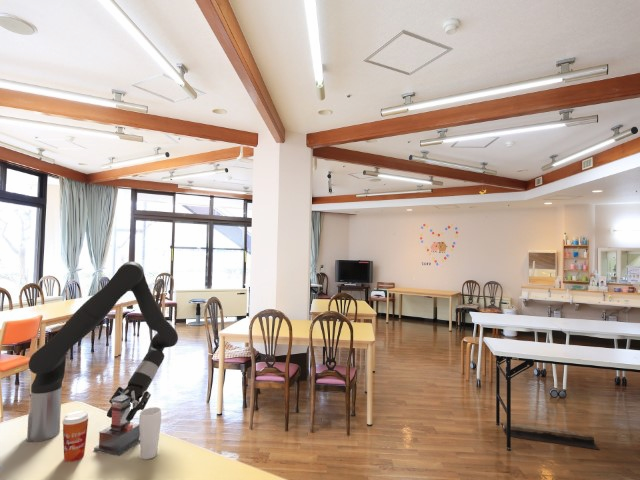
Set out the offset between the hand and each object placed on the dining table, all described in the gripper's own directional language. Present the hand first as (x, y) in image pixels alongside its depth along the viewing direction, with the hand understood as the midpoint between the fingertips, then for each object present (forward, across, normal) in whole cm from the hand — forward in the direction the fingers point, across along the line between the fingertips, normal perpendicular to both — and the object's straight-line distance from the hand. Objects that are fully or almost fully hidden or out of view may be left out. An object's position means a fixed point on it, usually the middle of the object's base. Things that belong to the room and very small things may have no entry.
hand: (118, 418), depth 125 cm
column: (+6, 0, +8) cm, 10 cm away
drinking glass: (+8, +15, +6) cm, 18 cm away
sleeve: (+6, 0, +8) cm, 10 cm away
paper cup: (+14, -8, 0) cm, 16 cm away
